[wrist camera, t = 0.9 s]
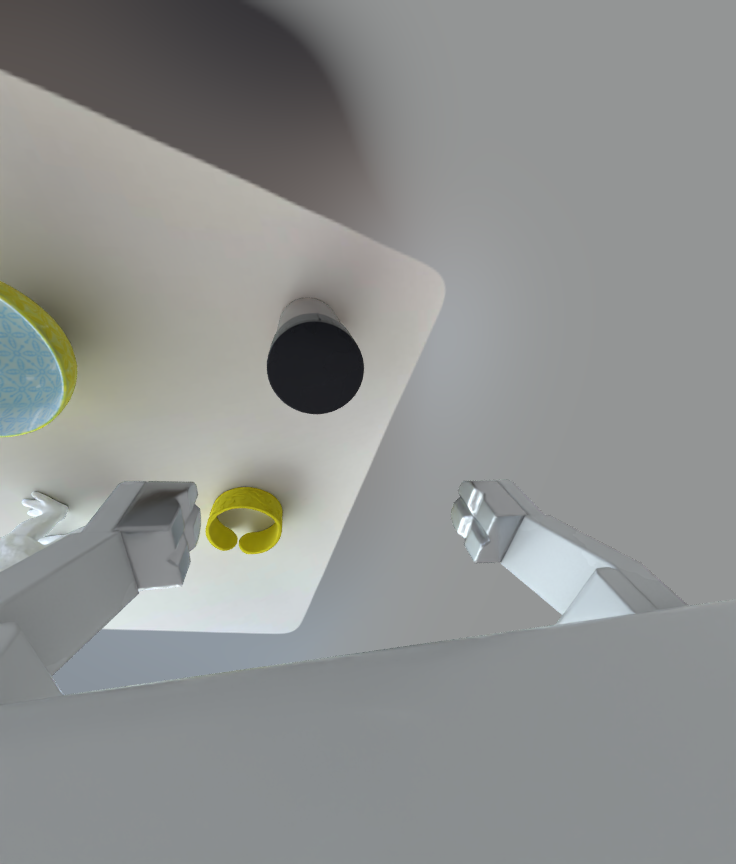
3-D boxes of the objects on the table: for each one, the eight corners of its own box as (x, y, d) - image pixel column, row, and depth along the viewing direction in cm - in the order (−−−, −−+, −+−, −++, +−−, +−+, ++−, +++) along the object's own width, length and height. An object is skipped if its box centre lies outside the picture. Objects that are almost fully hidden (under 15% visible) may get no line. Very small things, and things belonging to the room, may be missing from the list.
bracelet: (218, 480, 34) (212, 500, 32) (290, 493, 37) (290, 513, 34) (206, 528, 37) (199, 550, 34) (274, 537, 40) (272, 558, 37)
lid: (270, 306, 19) (266, 313, 16) (361, 317, 20) (370, 326, 18) (270, 394, 21) (267, 412, 19) (351, 399, 23) (357, 416, 20)
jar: (279, 293, 27) (269, 316, 17) (341, 301, 28) (366, 327, 18) (278, 355, 29) (269, 407, 19) (335, 360, 30) (354, 411, 21)
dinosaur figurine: (-6, 566, 34) (-182, 749, 22) (-62, 499, 29) (-330, 683, 17) (192, 542, 38) (140, 685, 25) (170, 479, 33) (94, 617, 21)
